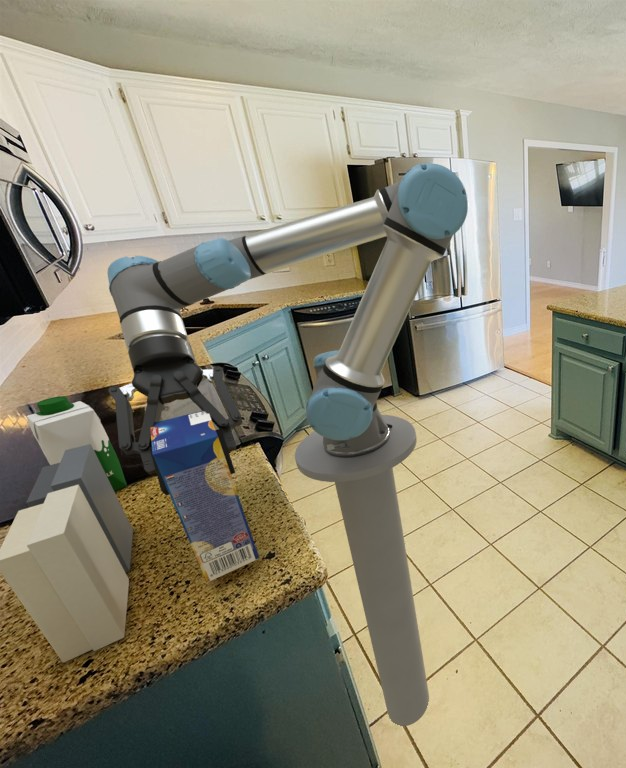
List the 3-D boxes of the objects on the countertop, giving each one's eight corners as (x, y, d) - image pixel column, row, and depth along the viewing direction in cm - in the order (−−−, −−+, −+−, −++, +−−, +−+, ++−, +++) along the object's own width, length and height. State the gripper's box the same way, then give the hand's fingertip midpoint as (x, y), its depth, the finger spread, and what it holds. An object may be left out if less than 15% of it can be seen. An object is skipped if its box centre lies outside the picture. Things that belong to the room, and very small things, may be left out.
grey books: (133, 530, 73) (90, 443, 66) (129, 571, 64) (80, 477, 57) (88, 545, 70) (38, 456, 63) (78, 592, 61) (19, 494, 54)
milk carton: (118, 472, 90) (79, 389, 82) (134, 485, 85) (94, 399, 77) (63, 494, 83) (14, 406, 75) (77, 509, 78) (27, 417, 70)
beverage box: (246, 521, 71) (207, 409, 62) (259, 558, 63) (217, 436, 55) (198, 541, 67) (150, 423, 58) (206, 583, 59) (152, 454, 51)
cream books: (129, 579, 63) (78, 484, 56) (124, 637, 54) (63, 532, 47) (76, 601, 59) (15, 502, 52) (62, 666, 51) (-14, 558, 44)
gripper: (236, 346, 72) (277, 463, 67) (81, 373, 61) (116, 517, 55) (231, 322, 66) (276, 449, 61) (59, 347, 55) (96, 505, 49)
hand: (200, 481), depth 58 cm, fingers closed on beverage box, 7 cm apart
